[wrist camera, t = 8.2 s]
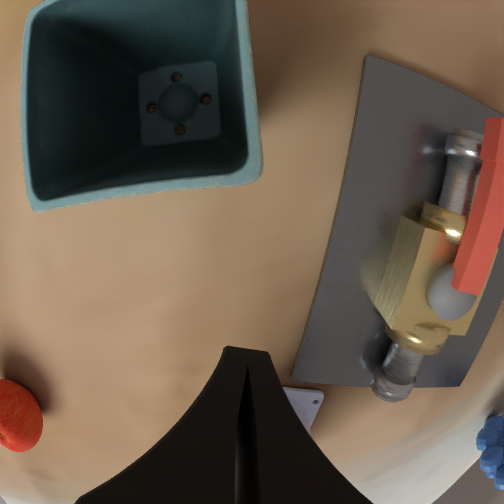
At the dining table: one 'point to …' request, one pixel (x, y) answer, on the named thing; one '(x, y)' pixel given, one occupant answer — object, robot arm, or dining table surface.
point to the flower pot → (136, 99)
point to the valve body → (400, 241)
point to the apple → (18, 417)
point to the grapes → (492, 449)
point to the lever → (475, 234)
